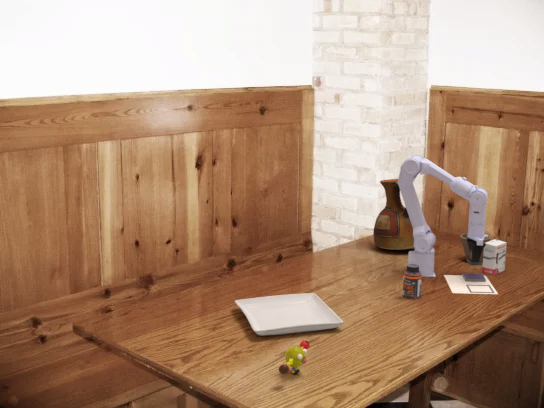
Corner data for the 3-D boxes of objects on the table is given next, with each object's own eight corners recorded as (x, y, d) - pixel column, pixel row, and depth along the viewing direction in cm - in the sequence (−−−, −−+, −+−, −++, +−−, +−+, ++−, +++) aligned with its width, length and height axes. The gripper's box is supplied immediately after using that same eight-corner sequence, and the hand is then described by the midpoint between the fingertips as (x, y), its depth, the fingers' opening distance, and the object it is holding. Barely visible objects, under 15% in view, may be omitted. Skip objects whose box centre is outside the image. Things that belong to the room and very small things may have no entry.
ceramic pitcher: (393, 240, 300) (395, 173, 294) (430, 249, 285) (433, 179, 279) (363, 248, 287) (364, 178, 281) (400, 258, 272) (402, 184, 266)
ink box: (493, 276, 248) (495, 245, 246) (481, 274, 251) (483, 243, 249) (505, 271, 254) (507, 241, 251) (493, 269, 257) (494, 238, 255)
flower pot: (453, 257, 272) (454, 233, 270) (478, 255, 276) (479, 231, 274) (469, 265, 261) (471, 240, 259) (495, 263, 265) (496, 238, 263)
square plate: (254, 343, 192) (254, 330, 191) (233, 310, 217) (233, 298, 217) (344, 332, 199) (344, 320, 198) (314, 301, 224) (314, 290, 224)
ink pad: (465, 281, 241) (465, 277, 241) (462, 276, 247) (462, 272, 247) (485, 281, 240) (485, 278, 240) (482, 276, 246) (482, 273, 246)
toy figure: (293, 389, 163) (293, 363, 162) (272, 385, 165) (272, 359, 164) (317, 359, 180) (317, 335, 178) (297, 356, 182) (297, 332, 180)
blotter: (452, 294, 229) (452, 292, 229) (443, 276, 249) (443, 274, 248) (498, 295, 228) (498, 293, 227) (485, 277, 247) (485, 275, 247)
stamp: (470, 265, 240) (471, 251, 239) (466, 262, 244) (467, 248, 243) (481, 265, 241) (482, 251, 240) (477, 262, 245) (478, 248, 244)
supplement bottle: (400, 299, 225) (401, 266, 223) (405, 293, 230) (406, 261, 228) (417, 301, 223) (419, 268, 220) (422, 296, 228) (424, 263, 225)
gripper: (493, 227, 232) (490, 266, 235) (484, 218, 246) (482, 254, 249) (472, 227, 233) (469, 265, 235) (464, 217, 247) (462, 254, 249)
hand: (474, 259), depth 242 cm, fingers closed on stamp, 3 cm apart
